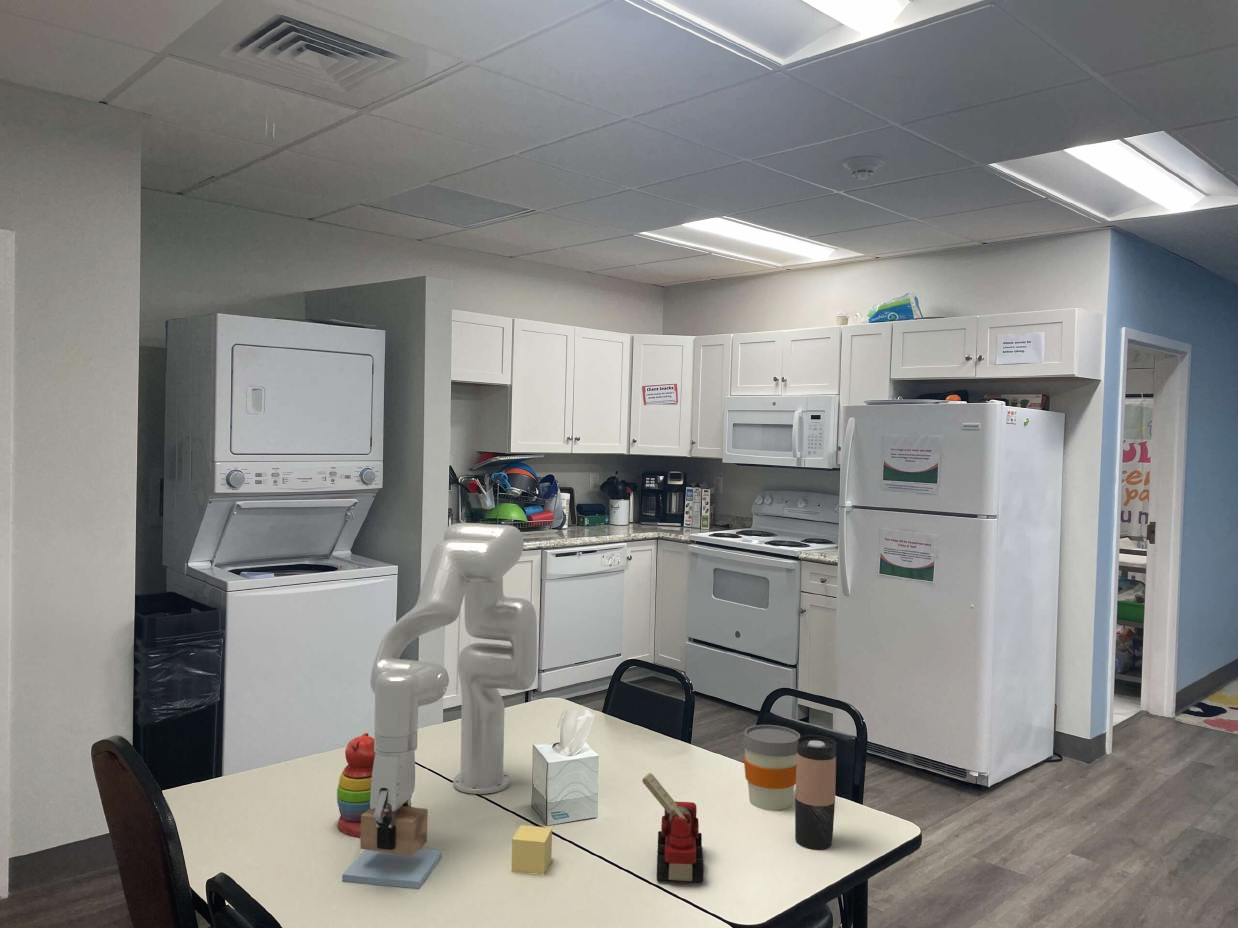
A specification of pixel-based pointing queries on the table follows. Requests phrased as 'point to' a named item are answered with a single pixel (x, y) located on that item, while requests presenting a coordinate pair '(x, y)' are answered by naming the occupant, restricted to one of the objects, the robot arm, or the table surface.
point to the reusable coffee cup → (770, 765)
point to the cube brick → (531, 849)
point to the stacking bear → (355, 784)
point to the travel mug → (815, 791)
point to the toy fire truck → (677, 837)
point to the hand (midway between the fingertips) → (393, 838)
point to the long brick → (397, 830)
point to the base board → (393, 868)
